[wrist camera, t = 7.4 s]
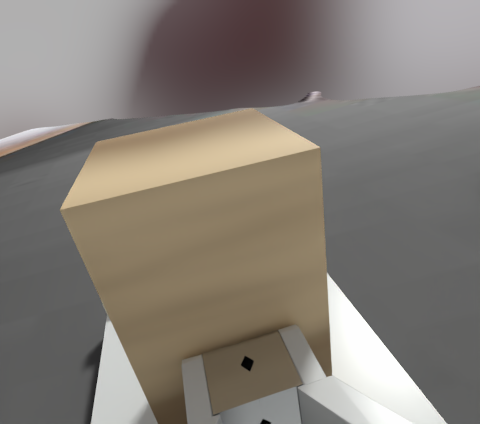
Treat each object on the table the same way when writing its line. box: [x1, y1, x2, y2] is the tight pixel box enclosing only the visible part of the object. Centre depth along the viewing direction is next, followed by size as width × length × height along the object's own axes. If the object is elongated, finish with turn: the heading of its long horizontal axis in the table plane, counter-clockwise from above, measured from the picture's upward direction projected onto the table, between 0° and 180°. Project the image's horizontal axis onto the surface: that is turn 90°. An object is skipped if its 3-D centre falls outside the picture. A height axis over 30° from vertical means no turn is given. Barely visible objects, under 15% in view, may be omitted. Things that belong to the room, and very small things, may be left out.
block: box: [60, 108, 332, 424], centre depth 11 cm, size 5×5×10 cm
